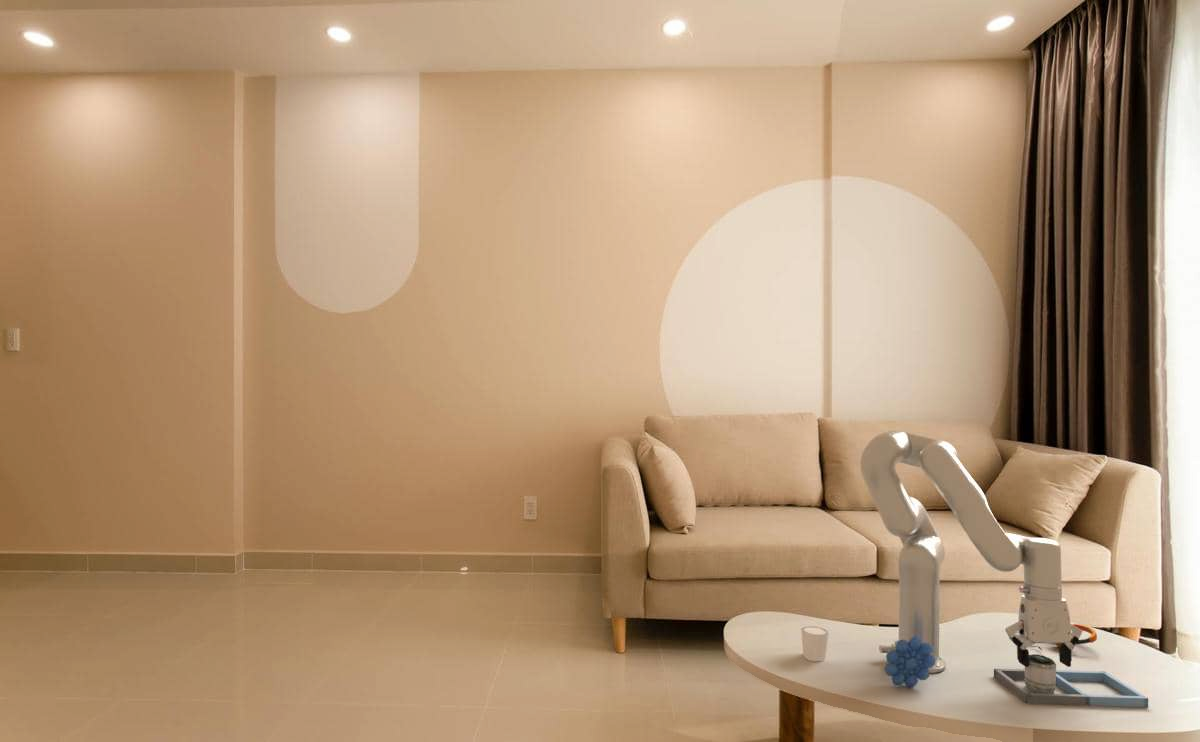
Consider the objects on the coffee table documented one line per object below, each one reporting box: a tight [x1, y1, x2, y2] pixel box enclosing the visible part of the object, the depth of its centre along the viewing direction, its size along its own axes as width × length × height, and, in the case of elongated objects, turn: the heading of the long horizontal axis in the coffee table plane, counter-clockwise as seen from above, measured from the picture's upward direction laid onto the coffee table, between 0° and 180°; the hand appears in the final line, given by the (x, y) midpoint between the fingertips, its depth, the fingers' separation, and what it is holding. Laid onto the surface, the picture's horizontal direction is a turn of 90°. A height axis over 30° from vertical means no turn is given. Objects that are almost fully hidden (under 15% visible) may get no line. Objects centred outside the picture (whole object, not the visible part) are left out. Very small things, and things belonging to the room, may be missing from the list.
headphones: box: [1015, 623, 1098, 651], centre depth 194 cm, size 17×5×20 cm
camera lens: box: [1024, 653, 1057, 694], centre depth 165 cm, size 6×6×8 cm
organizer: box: [993, 668, 1149, 708], centre depth 165 cm, size 27×14×2 cm, turn 89°
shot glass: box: [800, 625, 830, 662], centre depth 182 cm, size 7×7×7 cm
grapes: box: [884, 637, 935, 688], centre depth 167 cm, size 12×7×12 cm, turn 87°
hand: (1044, 664), depth 164 cm, fingers open, 9 cm apart
